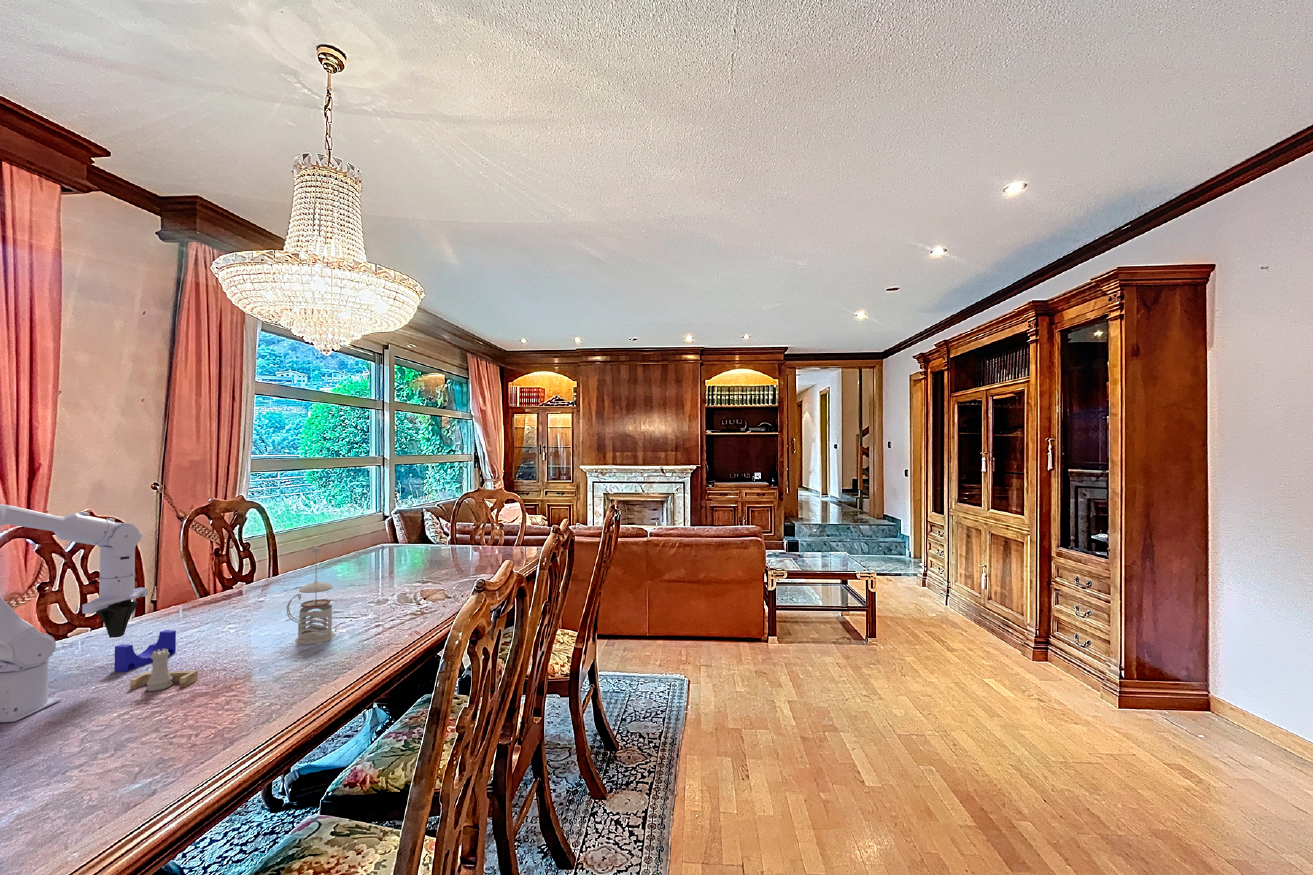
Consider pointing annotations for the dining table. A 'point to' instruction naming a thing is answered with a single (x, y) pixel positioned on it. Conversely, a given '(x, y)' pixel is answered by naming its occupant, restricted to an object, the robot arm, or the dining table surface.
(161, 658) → the rook chess piece
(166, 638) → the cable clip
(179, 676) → the wooden bracket
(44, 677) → the robot arm
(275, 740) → the dining table surface
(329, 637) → the french press
